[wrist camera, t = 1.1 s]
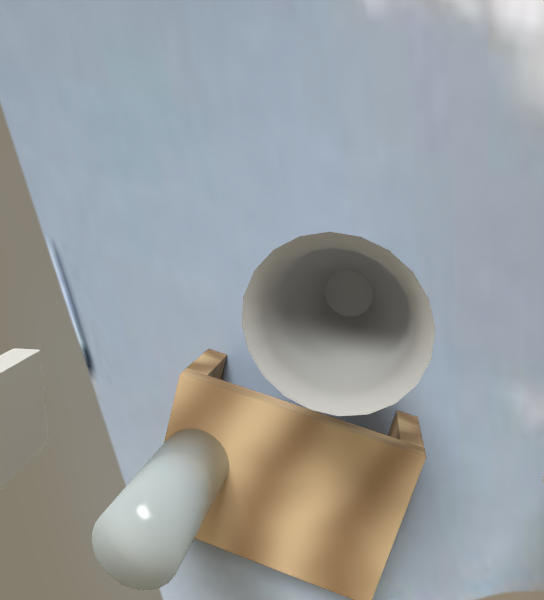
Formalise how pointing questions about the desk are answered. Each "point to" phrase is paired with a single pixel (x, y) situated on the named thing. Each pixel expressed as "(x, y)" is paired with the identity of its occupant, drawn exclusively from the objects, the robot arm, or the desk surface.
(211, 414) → the shelf
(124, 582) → the white glossy rounded part
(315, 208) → the desk surface
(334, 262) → the chalice
